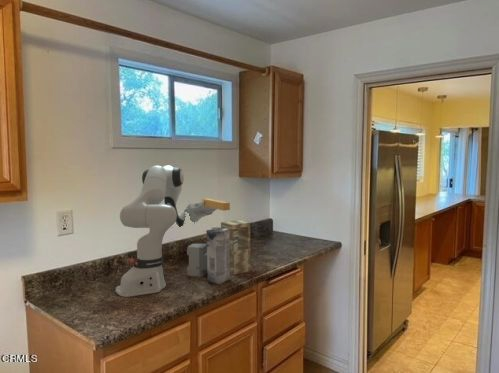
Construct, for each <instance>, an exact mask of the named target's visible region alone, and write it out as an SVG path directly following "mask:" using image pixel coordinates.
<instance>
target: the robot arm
mask: <svg viewBox="0 0 499 373" xmlns="http://www.w3.org/2000/svg"><path fill="white" fill-rule="evenodd" d="M141 179H142V180H141V182H142V184H143V186H142V188H141V192H140V193H139V195H138V196H137V198H135V200H133V201H132V202H130V203H129V204H127V205H124V206H123V207H122V208H121V210H120V213H119V219H120V220H119V221H120V222H121V224H122V226H124V227H128V228H133V229H149V232H148V233H146V234H144V235H143V236H141V237H140V238H138V240H137V242H136V252H137V253H136V256H137V257H136V258H135V259H134V258H133V257H132V258H130V259H129V263H130V264H133V266H132V267H131V268H130V269H128V270H127V272H125V273H124V274H123V275H122V276H121V279H120V285H117V286H116V287H115V293H116V294H117V295H119V296H120V297H124V298H129V297H136V296H142V295H143V296H144V295H150V294H155V293H159V292H161V291H162V290H163V289H164V288H165V287H166V286H167V283H166V281H165V276H164V270H163V269H164V258H163V257H164V256H163V255H162V254H163V252H162V249H163V248H162V247H163V238H164V236H165V234H166V233H167V231H168V230H169V229H170V228H172V227H171V226H172V225H173V224H174V223H175V222H176V224H177V225H178V226H179V227H180V228H181V226H182V227H183V226H184V224H185V222H184V221H185V217H186V216H185V215H186V214H185V212H187V213H189V216H190V220H191V221H192V222H194V224H196V223H197V222H199V221H200V219H202V218H204V217H206V216H210V215H212V214H213V213H214V212H215V211H217V210H218V209H215V208H211V207H207V206H202V205H204V204H205V201H202V200H201V201H199V202H193V203H191V202H190V204H188V206H187V207H186V209H185V210H184V212H183V213H181V214H179V215H178V211H177V207H176V205H177V201H178V200H179V197H180V195H181V191H182V188H183V186H182V185H183V183H184V179H185V176H184V172H183V170H182V169H181V168H179V167H174V166H172V165H169V164H168V165H163V166H161V165H153V166H151V167H150V168H149V169H146V170H144V171H143V172H142V175H141ZM163 200H164V203H162V202H163ZM195 222H196V223H195Z"/></svg>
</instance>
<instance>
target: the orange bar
mask: <svg viewBox="0 0 499 373" xmlns="http://www.w3.org/2000/svg"><path fill="white" fill-rule="evenodd" d="M202 201H205V204H204V205H202V206H207V207H211V208H215V209H217V210H220V211H223V212H224V211H230V210H231V209H230V208H231V203H230V202H227V201H222V200H218V199H213V198H202V199H201V202H202Z"/></svg>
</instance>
